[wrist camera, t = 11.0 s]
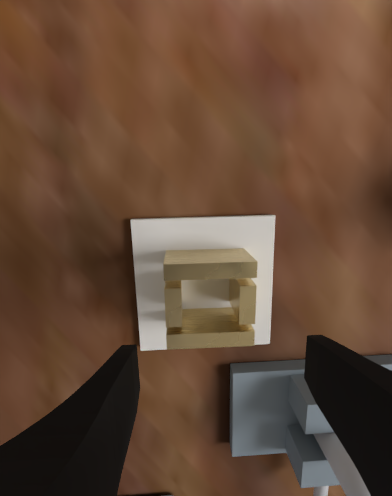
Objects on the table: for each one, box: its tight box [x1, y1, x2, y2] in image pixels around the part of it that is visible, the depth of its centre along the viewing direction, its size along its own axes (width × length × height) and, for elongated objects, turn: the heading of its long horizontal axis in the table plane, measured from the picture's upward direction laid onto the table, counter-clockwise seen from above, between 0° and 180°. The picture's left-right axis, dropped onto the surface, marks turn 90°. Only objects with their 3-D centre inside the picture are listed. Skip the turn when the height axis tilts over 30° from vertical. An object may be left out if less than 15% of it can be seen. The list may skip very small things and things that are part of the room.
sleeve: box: [163, 248, 258, 350], centre depth 18 cm, size 6×6×4 cm
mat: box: [131, 215, 275, 351], centre depth 20 cm, size 10×10×1 cm
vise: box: [230, 354, 392, 496], centre depth 19 cm, size 14×12×8 cm
